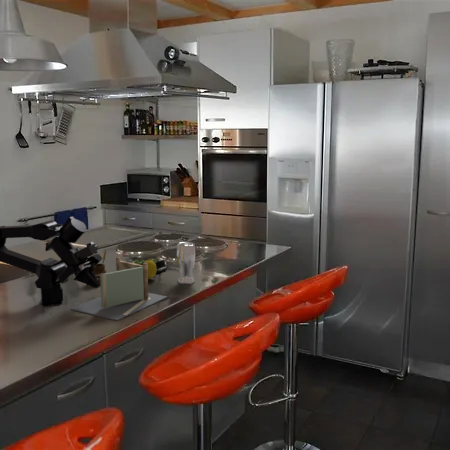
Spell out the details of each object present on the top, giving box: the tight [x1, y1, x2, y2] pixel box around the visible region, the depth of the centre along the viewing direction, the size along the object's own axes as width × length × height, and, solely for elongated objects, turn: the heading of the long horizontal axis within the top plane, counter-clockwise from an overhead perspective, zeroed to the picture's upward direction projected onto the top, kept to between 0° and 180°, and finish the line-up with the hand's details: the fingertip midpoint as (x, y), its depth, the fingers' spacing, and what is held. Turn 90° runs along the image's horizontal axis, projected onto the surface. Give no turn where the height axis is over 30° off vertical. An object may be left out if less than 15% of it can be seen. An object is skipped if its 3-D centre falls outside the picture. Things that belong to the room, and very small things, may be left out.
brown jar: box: [91, 250, 107, 286], centre depth 200 cm, size 6×6×12 cm
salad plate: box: [130, 258, 168, 274], centre depth 221 cm, size 19×18×5 cm
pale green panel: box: [100, 267, 144, 308], centre depth 174 cm, size 15×2×11 cm, turn 129°
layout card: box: [70, 292, 168, 322], centre depth 178 cm, size 26×20×1 cm
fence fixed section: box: [115, 257, 149, 300], centre depth 184 cm, size 15×2×13 cm, turn 54°
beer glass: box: [176, 241, 196, 285], centre depth 201 cm, size 7×7×15 cm
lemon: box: [144, 258, 157, 280], centre depth 205 cm, size 6×6×8 cm
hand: (98, 287), depth 172 cm, fingers closed
